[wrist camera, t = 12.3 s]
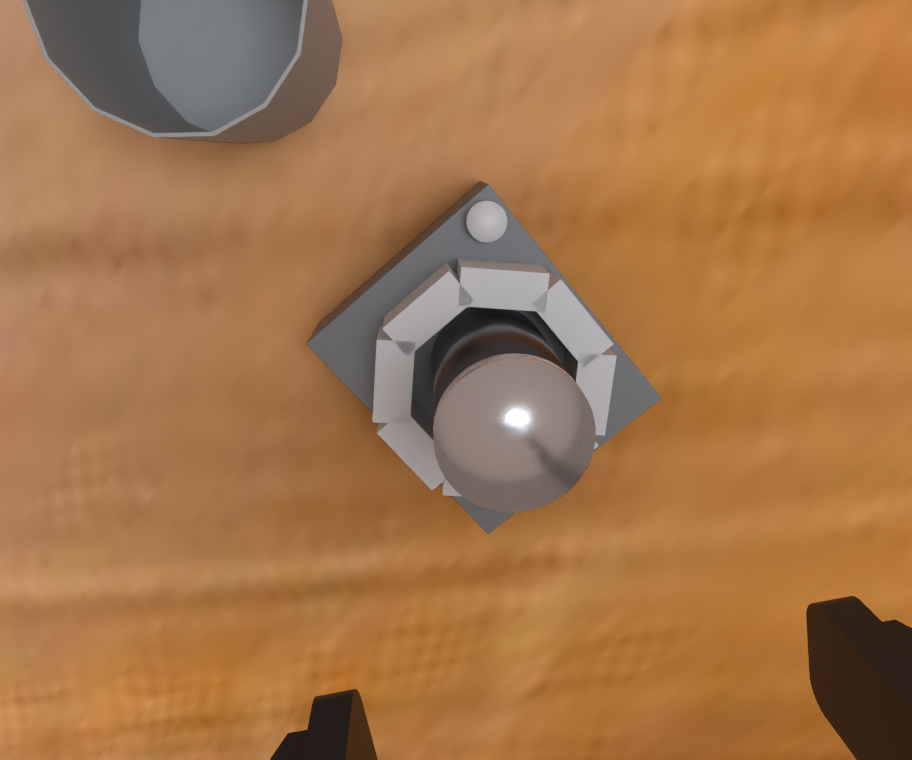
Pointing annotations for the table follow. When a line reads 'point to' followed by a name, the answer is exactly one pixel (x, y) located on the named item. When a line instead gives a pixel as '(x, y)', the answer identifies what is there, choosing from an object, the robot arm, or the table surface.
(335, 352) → the grey block with ring
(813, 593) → the table surface
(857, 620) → the robot arm
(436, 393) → the lens
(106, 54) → the cup
